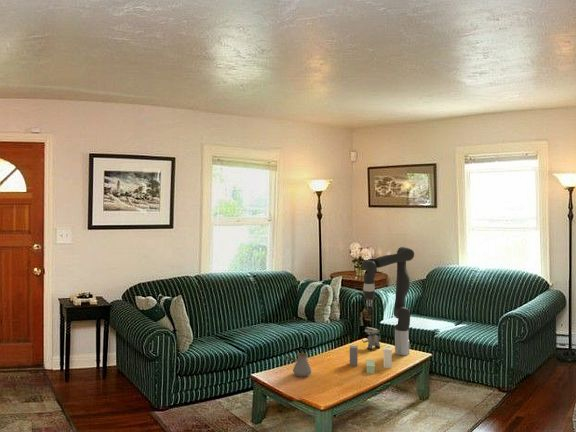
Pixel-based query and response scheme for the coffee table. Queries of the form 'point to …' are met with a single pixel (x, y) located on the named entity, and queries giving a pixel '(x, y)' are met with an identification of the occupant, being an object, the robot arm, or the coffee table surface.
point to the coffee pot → (301, 365)
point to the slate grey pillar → (353, 355)
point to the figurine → (372, 338)
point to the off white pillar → (387, 357)
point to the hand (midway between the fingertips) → (369, 314)
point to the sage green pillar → (370, 366)
